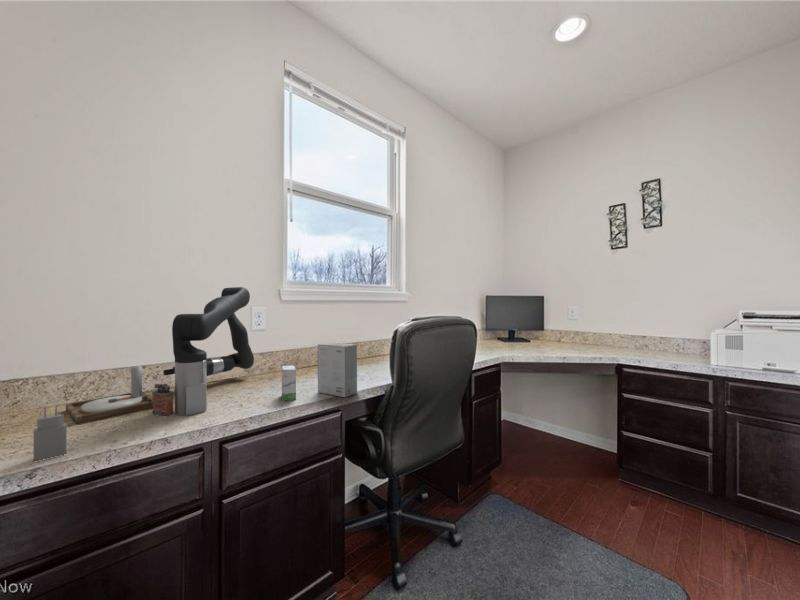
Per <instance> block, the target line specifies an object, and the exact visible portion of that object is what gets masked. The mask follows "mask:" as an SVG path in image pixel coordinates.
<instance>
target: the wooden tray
mask: <svg viewBox="0 0 800 600" xmlns="http://www.w3.org/2000/svg"><path fill="white" fill-rule="evenodd" d="M125 395H131V392H128V393H122V394H117V395H110V396H105V397H99V398H95V399H88V400H83V401H77V402H70V403H66V404H65V412H66V411H67V412H68V413H67V412H66V413H67V414H68V416H69V415H70V416H69V417H70V418H71V419H73V420H72V421H73V422H74V424H75V425H76V426H78V425H82V424H87V423H90V422H96V421H100V420H106V419H110V418H114V417H119V416H124V415H128V414H129V415H130V414H133V413H137V412H143V411H149V410H153V396H151V395H149V394H147V393H146V392H143V391H142V396H141V397H142V403H140V404H137V405H132V406H127V407H122V408H117V409H112V410H107V411H102V412H97V413H92V414H88V413H83V412H81V406H82V405H83V404H85V403H88V402H91V401H94V400H98V399H103V398H108V397H115V396H125ZM77 424H78V425H77Z"/></svg>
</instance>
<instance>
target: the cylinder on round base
mask: <svg viewBox="0 0 800 600" xmlns="http://www.w3.org/2000/svg"><path fill="white" fill-rule="evenodd" d="M142 392H143V365H135V366H131V367H130V393H131V395H125V396H116V395H114V396H115V397H110V396H107V397H108V398H104V397H102V398H103V399H99V398H97V399H98V400H94V401H91V402H88V403H85V404H83V405H82V406H81V412H83V413H88V414H92V413H97V412H102V411H107V410H112V409H117V408H122V407H127V406H132V405H137V404H140V403H142V397H141V396H142Z"/></svg>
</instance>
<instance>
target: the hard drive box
mask: <svg viewBox="0 0 800 600" xmlns="http://www.w3.org/2000/svg"><path fill="white" fill-rule="evenodd" d="M357 346H358V345H357V344H354V343H352V344H351V343H337V342H336V343H335V342H328V343H319V344H317V392H318V393H322V394H325V395H331V396H336V397H341V398H347V397H350V396H353V395H356V394H358V347H357Z"/></svg>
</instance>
